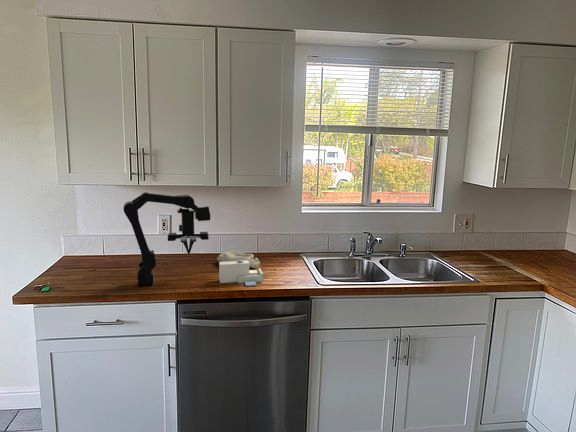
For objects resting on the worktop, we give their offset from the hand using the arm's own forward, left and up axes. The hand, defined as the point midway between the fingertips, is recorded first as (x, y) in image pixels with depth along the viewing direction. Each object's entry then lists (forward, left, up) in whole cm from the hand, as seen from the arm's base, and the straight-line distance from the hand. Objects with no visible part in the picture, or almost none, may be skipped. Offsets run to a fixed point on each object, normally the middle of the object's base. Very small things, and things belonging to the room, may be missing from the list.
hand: (188, 253), depth 201 cm
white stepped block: (+23, -5, -13) cm, 27 cm away
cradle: (+28, -5, -13) cm, 31 cm away
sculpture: (+26, +19, -13) cm, 35 cm away
